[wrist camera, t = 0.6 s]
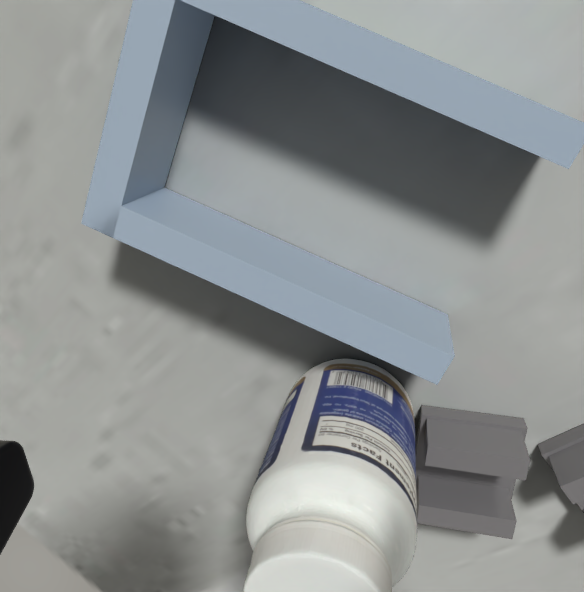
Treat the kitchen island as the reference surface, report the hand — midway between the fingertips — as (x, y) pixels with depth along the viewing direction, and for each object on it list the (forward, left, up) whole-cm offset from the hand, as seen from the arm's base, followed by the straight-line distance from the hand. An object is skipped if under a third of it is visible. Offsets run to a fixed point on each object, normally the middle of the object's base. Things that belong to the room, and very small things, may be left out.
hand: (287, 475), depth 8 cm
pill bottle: (-3, +7, -14) cm, 16 cm away
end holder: (+2, -2, -14) cm, 14 cm away
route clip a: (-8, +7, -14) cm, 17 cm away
